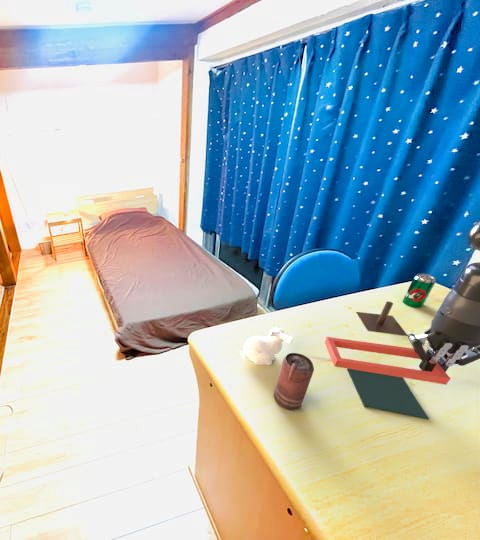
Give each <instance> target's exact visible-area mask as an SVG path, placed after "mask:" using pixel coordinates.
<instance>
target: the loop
mask: <svg viewBox="0 0 480 540" xmlns="http://www.w3.org/2000/svg"><path fill="white" fill-rule="evenodd" d="M324 345H325V346H326V347H325V348H326V350H327V352H328V355H329V357H330V358H331V362H332V364H333V366H334V368H335V367H336V368H342V369H346V370H347V369H353V370H360V371H366V372H372V373H378V374H384V375H390V376H396V377H402V378H403V379H409V380H416V381H422V382H428V383H434V384H439V385H447V384H448V383H449V382H450V380H451V377H450V376H449V375H448V374H447V371H446V372H445V371H444V370H443V369H442V368H441V366H440V365H439V364H438V363H436V364H437V365H436V366H435V367H434V369H433V370H432V372H428V371H422V370H421V369H415V368H409V367H402V366H396V365H389V364H382V363H377V362H370V361H364V360H357V359H351V358H345V357H341V355H340V352H339V350H338V348H341V349H348V350H356V351H362V352H368V353H376V354H383V355H389V356H396V357H403V358H409V359H415V360H416V359H417V360H421V359H420V357H419V356H418V354H417V353H416V352H415V351H414V349H413V347H412V348H411V347H405V346H397V345H389V344H383V343H376V342H369V341H368V342H367V341H361V340H354V339H353V340H352V339H346V338H339V337H330V336H326V338H325V341H324ZM424 351H426V349H424Z"/></svg>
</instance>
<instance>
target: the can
mask: <svg viewBox="0 0 480 540" xmlns="http://www.w3.org/2000/svg"><path fill="white" fill-rule="evenodd" d="M280 366H281V367H280V370H279V373H278V377H277V380H276V384H275V387H274V391H273V398H274V400H275V402H276V404H277V405H279V407H281V408H282V409H284V410H288V411H291V412H292V411H297V410H299V409H301V407H302V404H303V402H304V400H305V396H306V393H307V391H308V388H309V385H310V382H311V380H312V377H313V374H314V370H315V367H314V363H313V362H312V360H311V359H310V358H309V357H307V356H306V355H304V354H302V353H297V352H290V353H288V354H286V356H284V357H283V359H282V362H281V365H280Z"/></svg>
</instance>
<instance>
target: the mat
mask: <svg viewBox="0 0 480 540" xmlns="http://www.w3.org/2000/svg"><path fill="white" fill-rule="evenodd" d="M346 370H347V372H348V374H349V376H350V379H351V381H352V383H353V385H354V387H355V388H354V389H355V390H356V392H357V394H358V396H359V398H360V399H359V400H361V403H362V406H363V407H364V408H368V409H372V410H373V409H374V410H378V411H382V412H383V411H384V412H387V413H394V414H399V415H403V416H407V417H413V418H419V419H423V420H429V419H430V418H429V416H428V414H427V413H426V412H425V410H424V409H423V406H422V405H421V404H420V402H419V401H418V399H417V398H416V395H414V393H413V391H412V390H411V388H410V386H409V385H408V384H407V382H406V380H405V378H402V377H396V376H390V375H384V374H378V373H372V372H366V371H360V370H353V369H347V368H346Z"/></svg>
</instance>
